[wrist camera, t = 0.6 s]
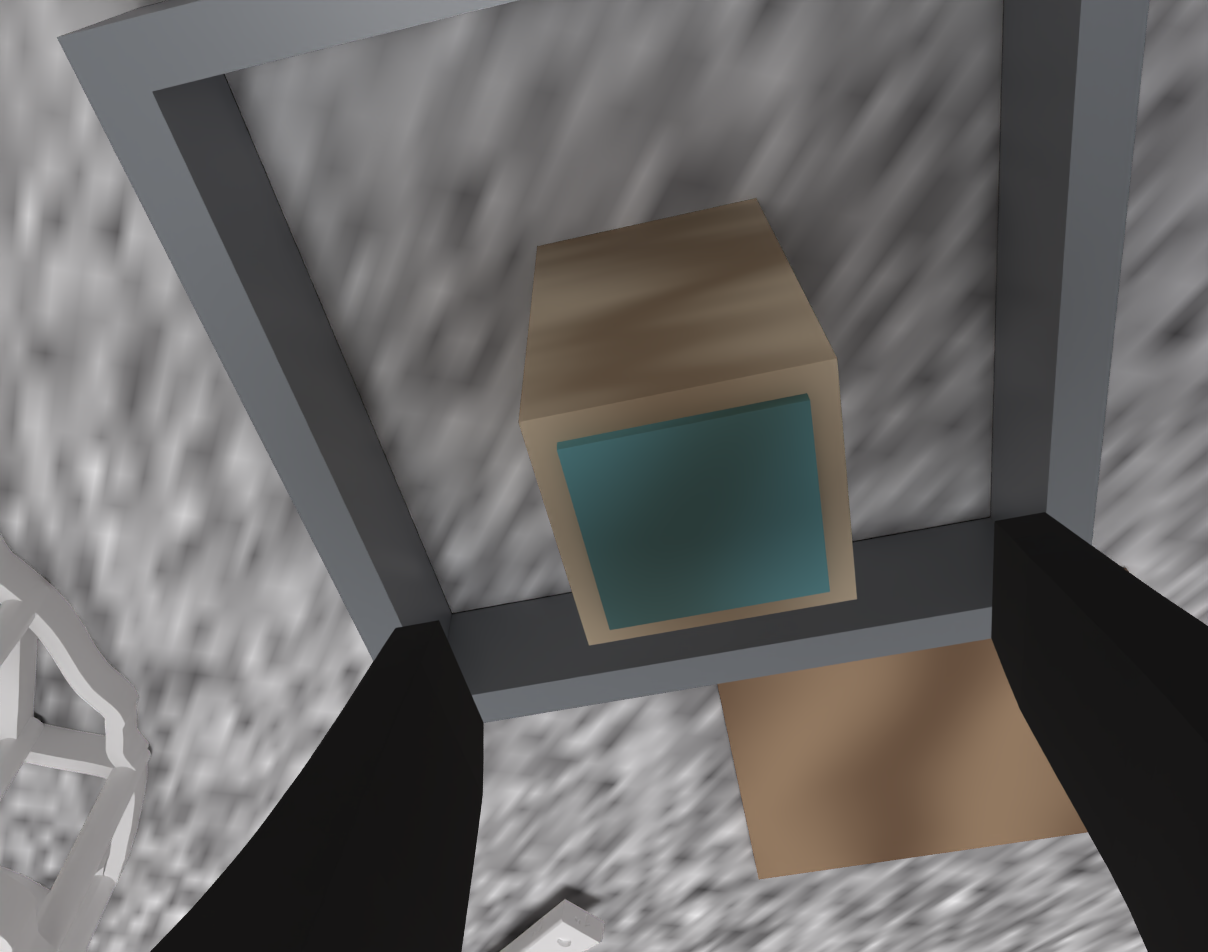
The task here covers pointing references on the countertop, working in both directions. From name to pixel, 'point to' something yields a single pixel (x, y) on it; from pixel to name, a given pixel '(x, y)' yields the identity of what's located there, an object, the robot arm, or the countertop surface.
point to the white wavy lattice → (65, 762)
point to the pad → (889, 761)
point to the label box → (685, 426)
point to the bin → (552, 625)
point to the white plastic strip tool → (560, 931)
